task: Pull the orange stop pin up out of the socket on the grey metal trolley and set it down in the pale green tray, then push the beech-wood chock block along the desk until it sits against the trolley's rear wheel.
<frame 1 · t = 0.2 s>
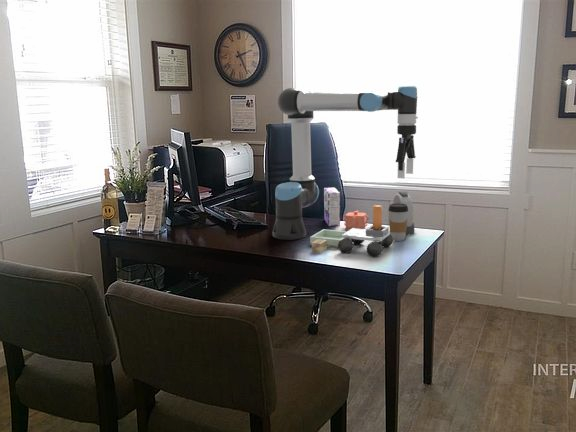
hand: (405, 175, 229), 28 cm above the table, fingers open, 13 cm apart
tray: (332, 242, 234), on the table
stop pin: (377, 232, 220), point 7 cm above the table, touching trolley
grey rounded piece: (402, 231, 250), on the table
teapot: (355, 229, 256), on the table
trolley: (365, 249, 222), on the table
candy box: (331, 223, 269), on the table
chock: (319, 250, 223), on the table
coffee cup: (397, 239, 237), on the table
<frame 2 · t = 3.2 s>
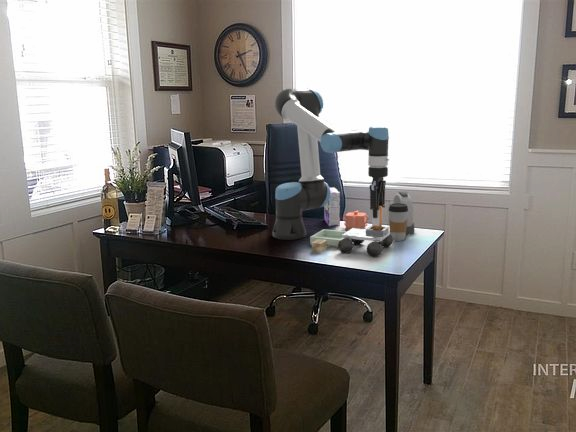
hand: (377, 224, 220), 11 cm above the table, fingers closed on stop pin, 3 cm apart
stop pin: (377, 232, 220), point 7 cm above the table, touching gripper
everything else where it was.
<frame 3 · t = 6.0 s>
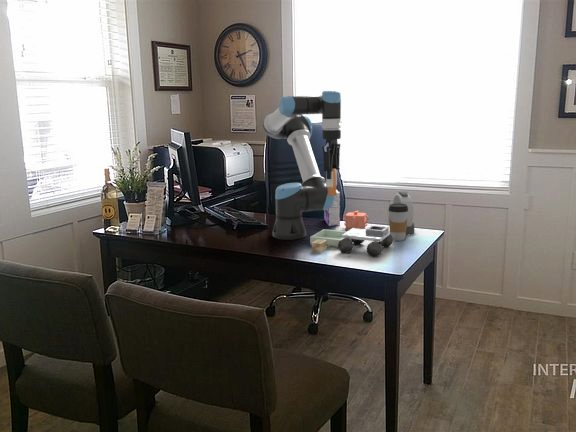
hand: (331, 185, 229), 25 cm above the table, fingers closed on stop pin, 3 cm apart
stop pin: (332, 195, 229), point 21 cm above the table, touching gripper
everything else where it was.
when the fingers open (6 cm above the table, at t = 8.9 s): stop pin drops 2 cm, resting on tray.
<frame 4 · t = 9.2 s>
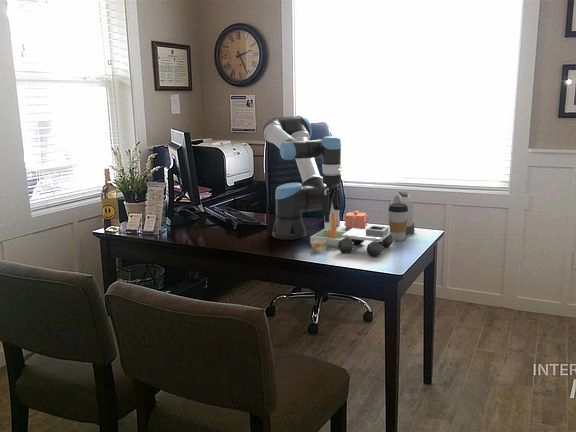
hand: (331, 227, 233), 7 cm above the table, fingers open, 8 cm apart
stop pin: (331, 240, 234), point 1 cm above the table, touching tray
everything else where it was.
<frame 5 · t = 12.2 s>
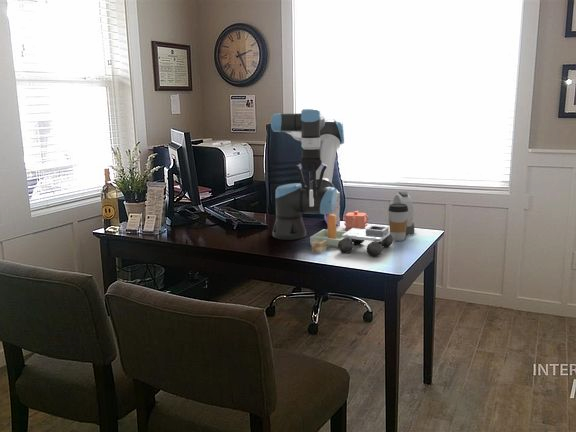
hand: (311, 205, 224), 17 cm above the table, fingers closed
nothing on the table moved.
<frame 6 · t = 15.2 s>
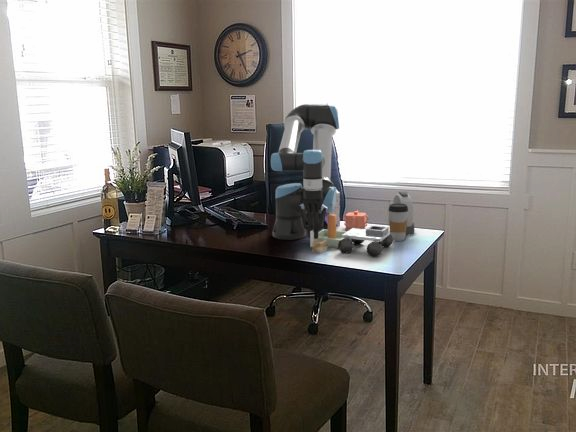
hand: (313, 246, 223), 2 cm above the table, fingers closed
chock: (319, 250, 223), on the table, touching gripper
everything else where it was.
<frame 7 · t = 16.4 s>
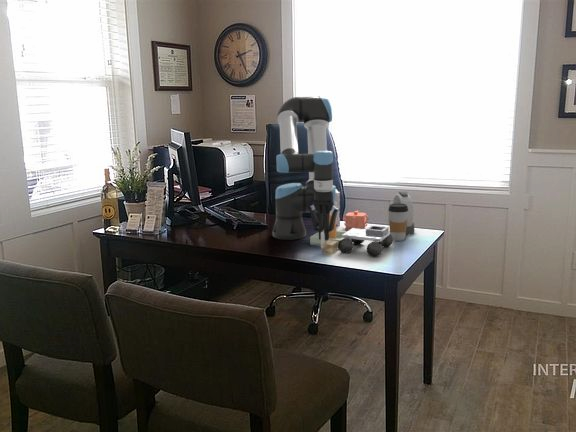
hand: (323, 247, 222), 1 cm above the table, fingers closed
chock: (330, 252, 221), on the table
everything else where it was.
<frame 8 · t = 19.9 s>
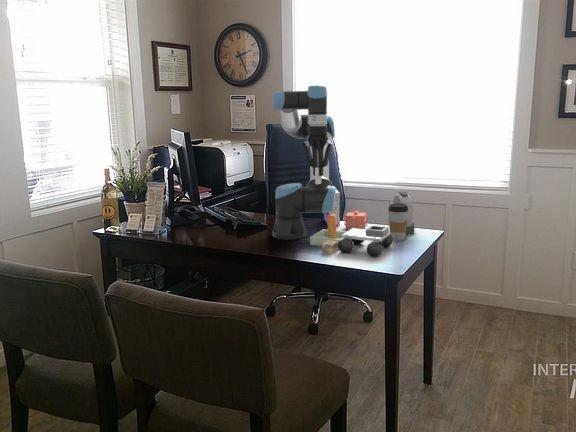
hand: (318, 183, 224), 26 cm above the table, fingers closed
nothing on the table moved.
at the end: stop pin inside the target area on the tray (0.1 cm from its centre), point 1.0 cm above the tray's base; chock 0.9 cm from the target spot, on the table; the gripper is holding nothing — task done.
